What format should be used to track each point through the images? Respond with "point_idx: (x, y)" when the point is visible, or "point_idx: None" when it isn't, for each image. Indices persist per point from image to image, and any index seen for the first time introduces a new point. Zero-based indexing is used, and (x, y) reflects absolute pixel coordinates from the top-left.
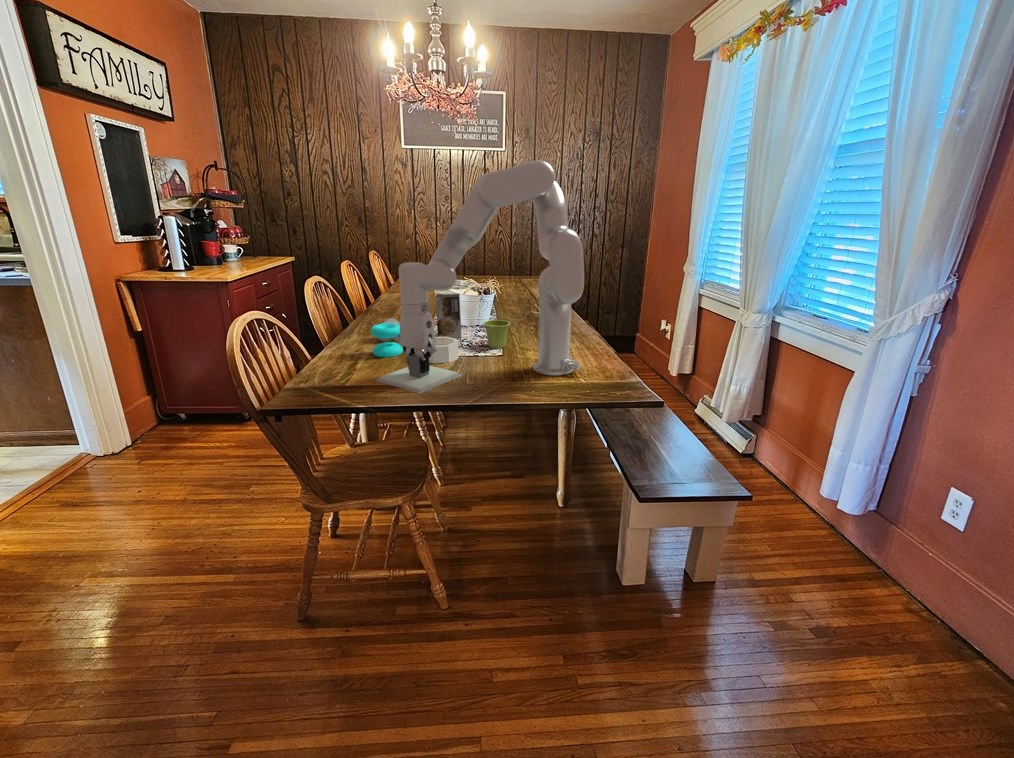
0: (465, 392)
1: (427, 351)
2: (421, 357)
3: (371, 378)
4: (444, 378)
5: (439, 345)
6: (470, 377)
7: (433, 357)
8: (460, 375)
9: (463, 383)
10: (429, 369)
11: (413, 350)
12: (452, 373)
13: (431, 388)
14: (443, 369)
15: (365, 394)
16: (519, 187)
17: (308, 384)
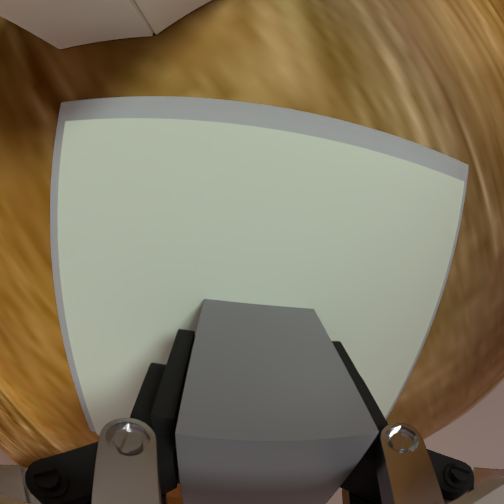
0: (496, 334)
1: (411, 495)
2: (348, 499)
3: (46, 393)
4: (431, 315)
5: None
6: (486, 162)
7: (141, 3)
8: (464, 183)
9: (485, 258)
10: (340, 343)
11: (142, 485)
12: (447, 215)
13: (391, 407)
14: (358, 157)
15: (175, 490)
16: None
17: (10, 447)
